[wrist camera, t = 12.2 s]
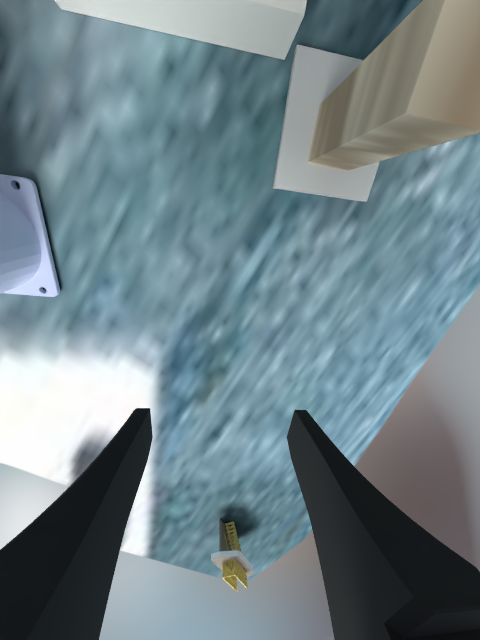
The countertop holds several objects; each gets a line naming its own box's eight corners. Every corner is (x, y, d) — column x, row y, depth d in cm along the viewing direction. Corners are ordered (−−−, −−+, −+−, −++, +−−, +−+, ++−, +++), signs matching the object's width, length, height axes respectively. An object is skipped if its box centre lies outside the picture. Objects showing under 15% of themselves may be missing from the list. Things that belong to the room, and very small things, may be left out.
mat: (272, 188, 16) (273, 187, 16) (294, 49, 13) (297, 44, 13) (363, 201, 17) (367, 201, 17) (402, 75, 14) (408, 71, 14)
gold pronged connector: (251, 488, 33) (258, 547, 28) (280, 538, 41) (291, 593, 36) (175, 509, 34) (167, 572, 28) (218, 555, 42) (219, 611, 36)
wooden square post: (307, 162, 15) (406, 112, 7) (320, 104, 14) (456, -35, 6) (348, 170, 16) (485, 130, 8) (364, 114, 14) (549, -4, 6)
